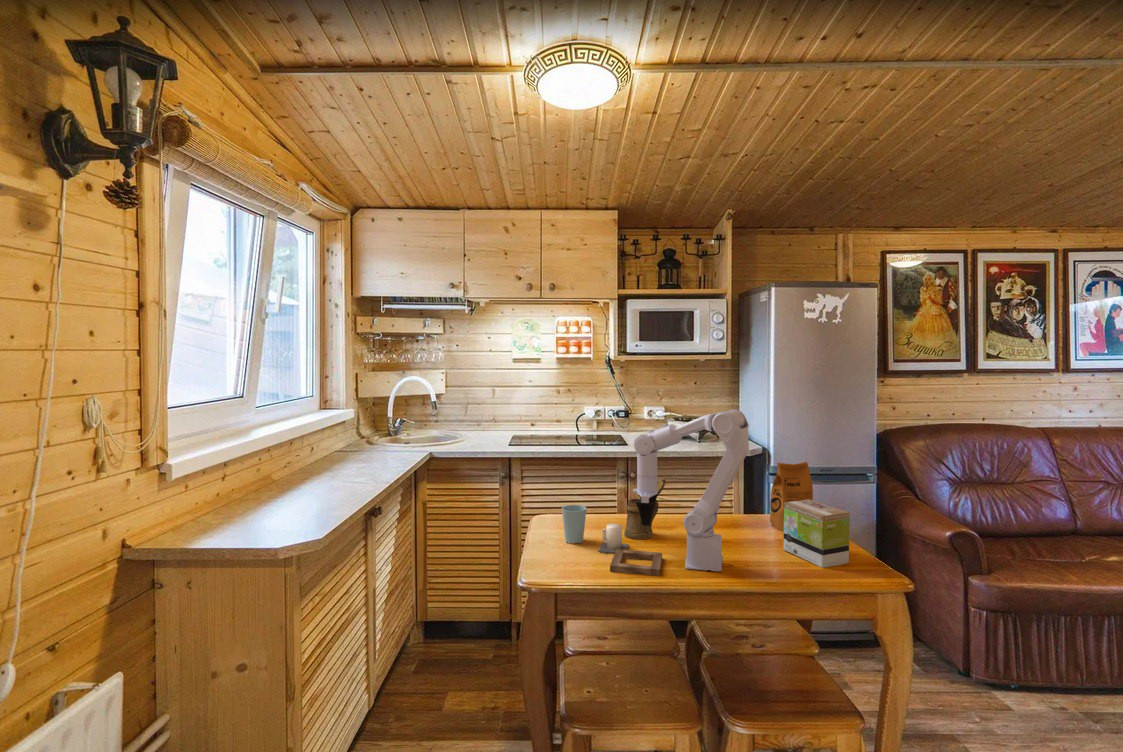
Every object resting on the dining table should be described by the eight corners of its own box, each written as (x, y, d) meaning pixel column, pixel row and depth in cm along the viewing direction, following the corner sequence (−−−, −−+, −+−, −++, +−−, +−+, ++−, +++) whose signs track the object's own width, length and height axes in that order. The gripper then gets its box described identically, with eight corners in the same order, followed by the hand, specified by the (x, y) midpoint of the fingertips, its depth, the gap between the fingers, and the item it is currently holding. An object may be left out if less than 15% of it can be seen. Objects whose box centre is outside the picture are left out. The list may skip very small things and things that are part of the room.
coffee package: (766, 523, 190) (766, 460, 189) (801, 522, 191) (801, 459, 190) (779, 532, 180) (780, 465, 179) (816, 531, 181) (817, 464, 180)
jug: (623, 545, 166) (623, 524, 166) (619, 550, 162) (619, 528, 161) (604, 543, 168) (604, 522, 168) (600, 548, 164) (600, 526, 163)
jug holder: (662, 558, 157) (662, 552, 157) (659, 575, 144) (659, 569, 144) (616, 554, 160) (616, 549, 160) (609, 571, 147) (609, 565, 147)
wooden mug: (669, 538, 174) (669, 482, 173) (627, 540, 173) (627, 483, 172) (661, 530, 183) (662, 476, 182) (621, 531, 182) (621, 477, 181)
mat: (628, 545, 167) (628, 544, 167) (625, 554, 160) (625, 553, 160) (602, 543, 169) (602, 542, 169) (598, 552, 162) (598, 550, 162)
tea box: (781, 550, 163) (782, 501, 162) (808, 546, 166) (808, 498, 166) (822, 569, 149) (823, 514, 148) (850, 564, 152) (851, 510, 152)
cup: (576, 546, 166) (576, 512, 166) (556, 541, 171) (556, 508, 171) (591, 540, 172) (591, 507, 172) (571, 535, 177) (571, 503, 177)
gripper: (635, 469, 168) (635, 513, 168) (630, 479, 154) (630, 527, 154) (659, 470, 166) (659, 515, 167) (656, 480, 152) (656, 529, 153)
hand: (647, 521), depth 160 cm, fingers open, 7 cm apart
